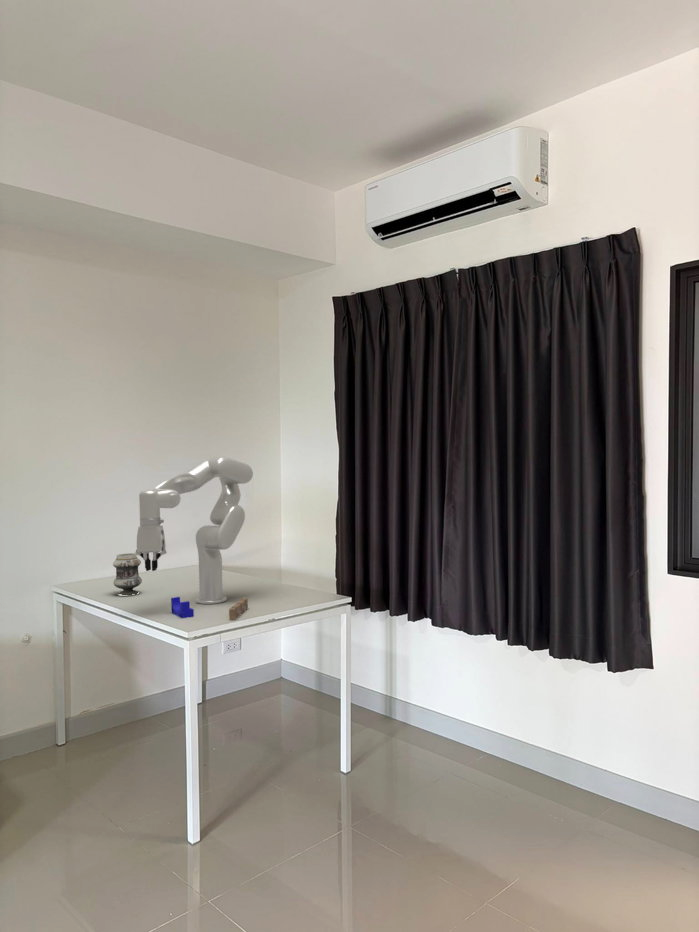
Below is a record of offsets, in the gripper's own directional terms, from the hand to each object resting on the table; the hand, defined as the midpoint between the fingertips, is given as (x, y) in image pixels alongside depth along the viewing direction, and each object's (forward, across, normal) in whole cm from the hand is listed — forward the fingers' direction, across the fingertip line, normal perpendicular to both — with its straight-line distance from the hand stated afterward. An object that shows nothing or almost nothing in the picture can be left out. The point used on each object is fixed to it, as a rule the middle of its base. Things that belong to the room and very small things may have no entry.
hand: (151, 570), depth 269 cm
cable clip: (+18, -12, +1) cm, 21 cm away
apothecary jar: (+17, +27, -40) cm, 51 cm away
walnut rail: (+17, -34, 0) cm, 38 cm away
